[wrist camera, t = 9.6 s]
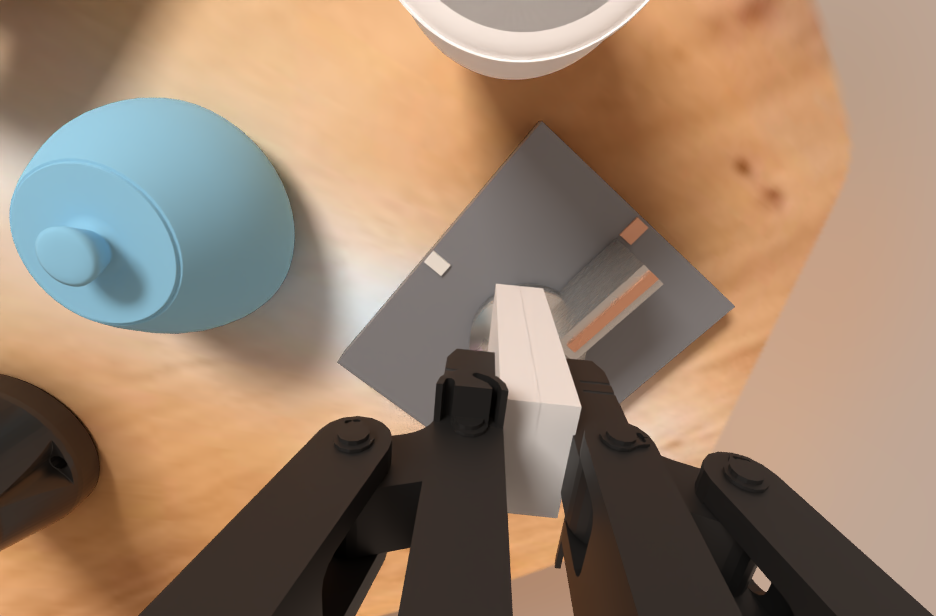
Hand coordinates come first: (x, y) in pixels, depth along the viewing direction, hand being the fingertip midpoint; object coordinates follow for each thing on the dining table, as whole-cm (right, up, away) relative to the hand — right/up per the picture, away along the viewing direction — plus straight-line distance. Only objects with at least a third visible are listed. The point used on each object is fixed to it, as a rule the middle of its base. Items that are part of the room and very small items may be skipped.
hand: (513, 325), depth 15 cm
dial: (+4, 0, +17) cm, 18 cm away
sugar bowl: (-21, +7, +18) cm, 28 cm away
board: (+3, -1, +20) cm, 20 cm away
